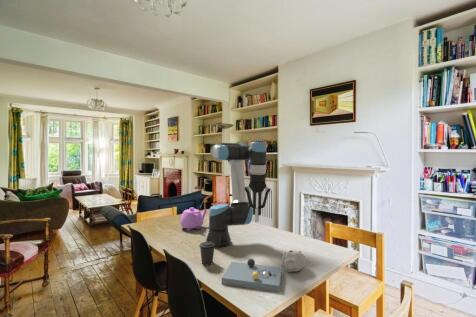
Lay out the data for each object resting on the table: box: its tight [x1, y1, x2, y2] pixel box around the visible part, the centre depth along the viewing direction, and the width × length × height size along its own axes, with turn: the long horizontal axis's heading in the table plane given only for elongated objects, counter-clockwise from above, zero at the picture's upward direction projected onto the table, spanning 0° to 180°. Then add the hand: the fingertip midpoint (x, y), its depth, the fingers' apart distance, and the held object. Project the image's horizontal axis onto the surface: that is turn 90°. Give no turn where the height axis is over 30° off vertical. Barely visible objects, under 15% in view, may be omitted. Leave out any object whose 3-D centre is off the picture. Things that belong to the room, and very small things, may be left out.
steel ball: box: [262, 271, 270, 277], centre depth 106 cm, size 4×4×4 cm
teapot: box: [179, 207, 208, 232], centre depth 179 cm, size 20×20×15 cm
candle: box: [281, 250, 306, 273], centre depth 117 cm, size 9×11×15 cm
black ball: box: [246, 258, 256, 267], centre depth 113 cm, size 4×4×4 cm
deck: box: [221, 261, 283, 293], centre depth 108 cm, size 24×16×2 cm, turn 76°
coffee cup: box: [198, 241, 216, 266], centre depth 122 cm, size 8×8×10 cm
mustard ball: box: [252, 272, 259, 280], centre depth 102 cm, size 3×3×3 cm
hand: (256, 221), depth 119 cm, fingers closed
